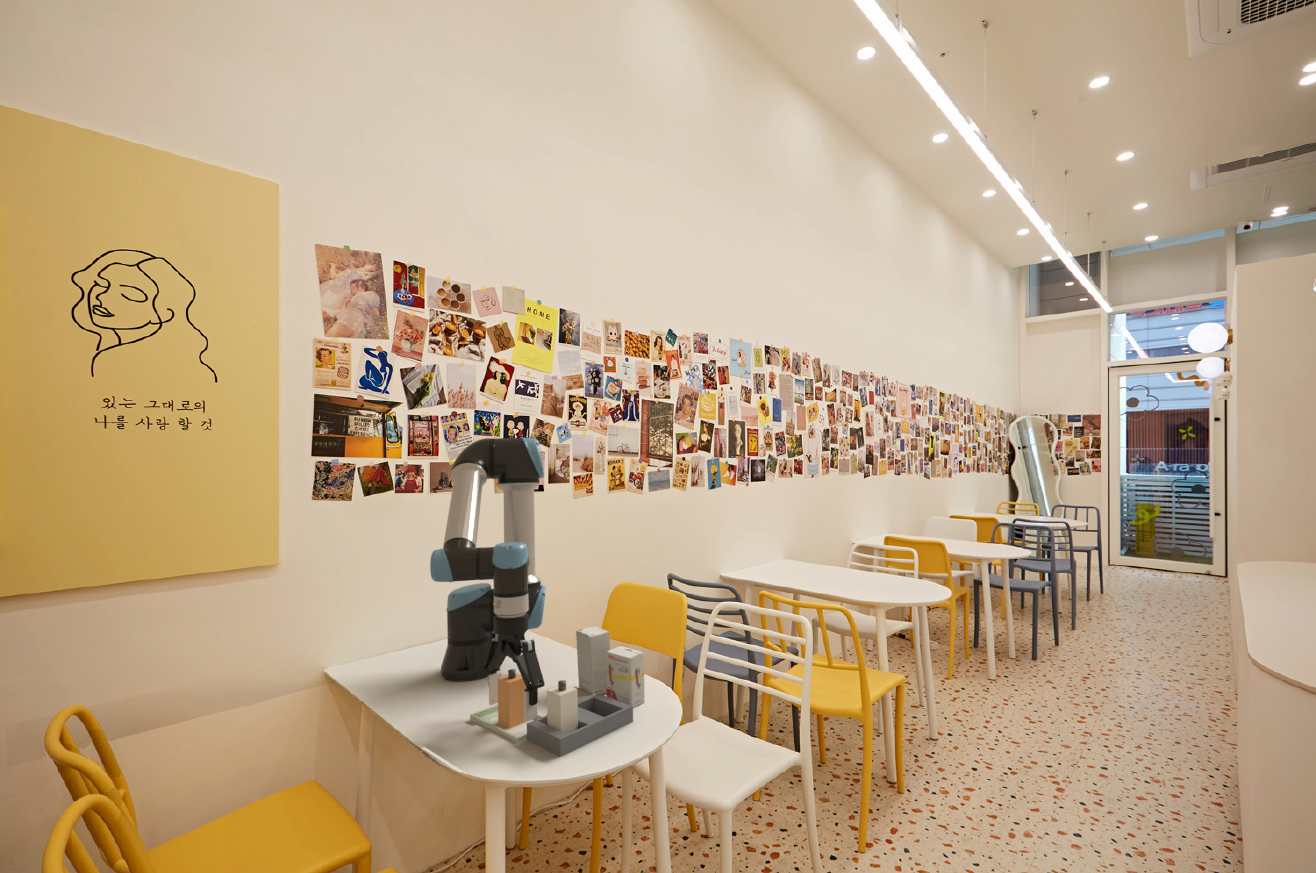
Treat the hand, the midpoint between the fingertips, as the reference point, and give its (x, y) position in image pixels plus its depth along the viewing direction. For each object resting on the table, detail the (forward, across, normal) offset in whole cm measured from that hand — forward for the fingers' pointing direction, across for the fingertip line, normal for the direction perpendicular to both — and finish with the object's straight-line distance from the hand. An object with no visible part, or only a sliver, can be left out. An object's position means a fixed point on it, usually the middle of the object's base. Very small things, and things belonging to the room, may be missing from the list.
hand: (512, 711), depth 132 cm
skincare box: (+3, -1, +25) cm, 25 cm away
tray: (+3, 0, 0) cm, 3 cm away
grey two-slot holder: (+3, +15, +7) cm, 17 cm away
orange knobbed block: (+3, 0, 0) cm, 3 cm away
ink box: (+3, +10, +25) cm, 27 cm away
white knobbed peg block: (+2, +15, +2) cm, 15 cm away
